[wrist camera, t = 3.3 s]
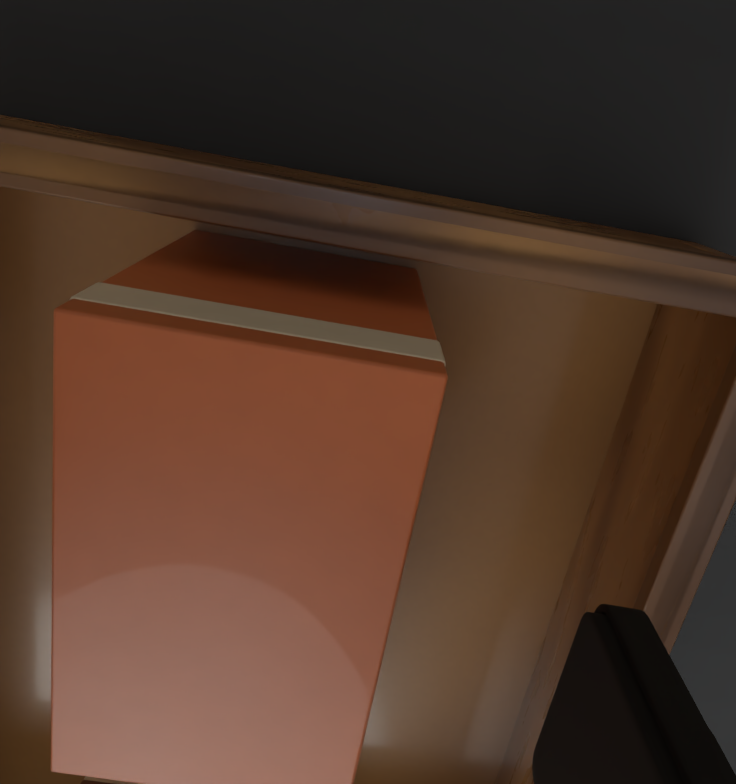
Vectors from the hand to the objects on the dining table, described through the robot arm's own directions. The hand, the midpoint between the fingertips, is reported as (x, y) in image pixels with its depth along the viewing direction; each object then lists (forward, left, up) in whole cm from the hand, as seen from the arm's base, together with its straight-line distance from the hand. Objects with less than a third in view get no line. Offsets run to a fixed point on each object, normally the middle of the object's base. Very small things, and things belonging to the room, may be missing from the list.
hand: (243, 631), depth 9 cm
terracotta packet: (0, 0, -8) cm, 8 cm away
